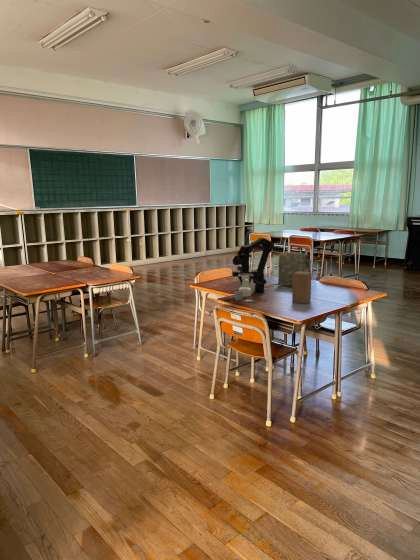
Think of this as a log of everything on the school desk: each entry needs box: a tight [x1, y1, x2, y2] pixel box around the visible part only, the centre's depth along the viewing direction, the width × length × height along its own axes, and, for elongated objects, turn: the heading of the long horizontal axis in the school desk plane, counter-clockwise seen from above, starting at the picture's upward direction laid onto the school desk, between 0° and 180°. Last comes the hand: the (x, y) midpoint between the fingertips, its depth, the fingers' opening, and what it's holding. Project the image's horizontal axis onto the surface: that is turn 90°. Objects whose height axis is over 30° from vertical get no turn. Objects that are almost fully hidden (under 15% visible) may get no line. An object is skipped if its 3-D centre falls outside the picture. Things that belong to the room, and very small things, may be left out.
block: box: [291, 271, 312, 305], centre depth 277 cm, size 10×10×20 cm
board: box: [242, 298, 257, 303], centre depth 282 cm, size 8×6×1 cm
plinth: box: [239, 287, 252, 297], centre depth 300 cm, size 8×8×5 cm
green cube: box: [240, 278, 250, 288], centre depth 298 cm, size 5×5×5 cm
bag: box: [277, 251, 311, 288], centre depth 327 cm, size 22×16×27 cm
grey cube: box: [233, 290, 244, 301], centre depth 288 cm, size 5×5×5 cm
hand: (245, 285), depth 299 cm, fingers closed on green cube, 5 cm apart
